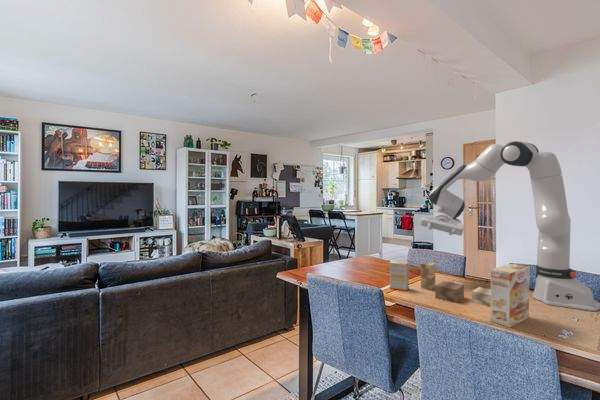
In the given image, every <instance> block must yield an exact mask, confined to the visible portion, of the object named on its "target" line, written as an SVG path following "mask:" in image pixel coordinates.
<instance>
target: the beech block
mask: <svg viewBox="0 0 600 400" xmlns="http://www.w3.org/2000/svg"><path fill="white" fill-rule="evenodd" d="M473 302H474V303H473ZM471 303H473V304H477V303H478V304H477V305H481V304H482V305H481V306H485V305H486V307H490V308H491V288H485V287H480V286H478V287H477V288H474V289H473V290H472V291H471Z"/></svg>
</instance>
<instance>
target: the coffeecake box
mask: <svg viewBox="0 0 600 400" xmlns="http://www.w3.org/2000/svg"><path fill="white" fill-rule="evenodd" d="M530 272H531V271H530V266H526V265H523V264H522V265H521V264H514V263H508V264H505V265H501V266H498V267H494V268H491V269H490V289H491V307H490V311H489V312H490V314H489V315H490V316H489V317H490V318H489V319H490V320H489V321H490V322H492V323H495V324H497V323H498V325H500V324H501V325H500V326H503V325H504V326H503V327H507V328H509V327H510V328H512V327H514V326H517V325H518V324H520V323H521V322H524V321H525V320H527V319H530V317H529V315H530V313H529V312H530V309H529V308H530V303H529V302H530V274H531V273H530Z"/></svg>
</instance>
